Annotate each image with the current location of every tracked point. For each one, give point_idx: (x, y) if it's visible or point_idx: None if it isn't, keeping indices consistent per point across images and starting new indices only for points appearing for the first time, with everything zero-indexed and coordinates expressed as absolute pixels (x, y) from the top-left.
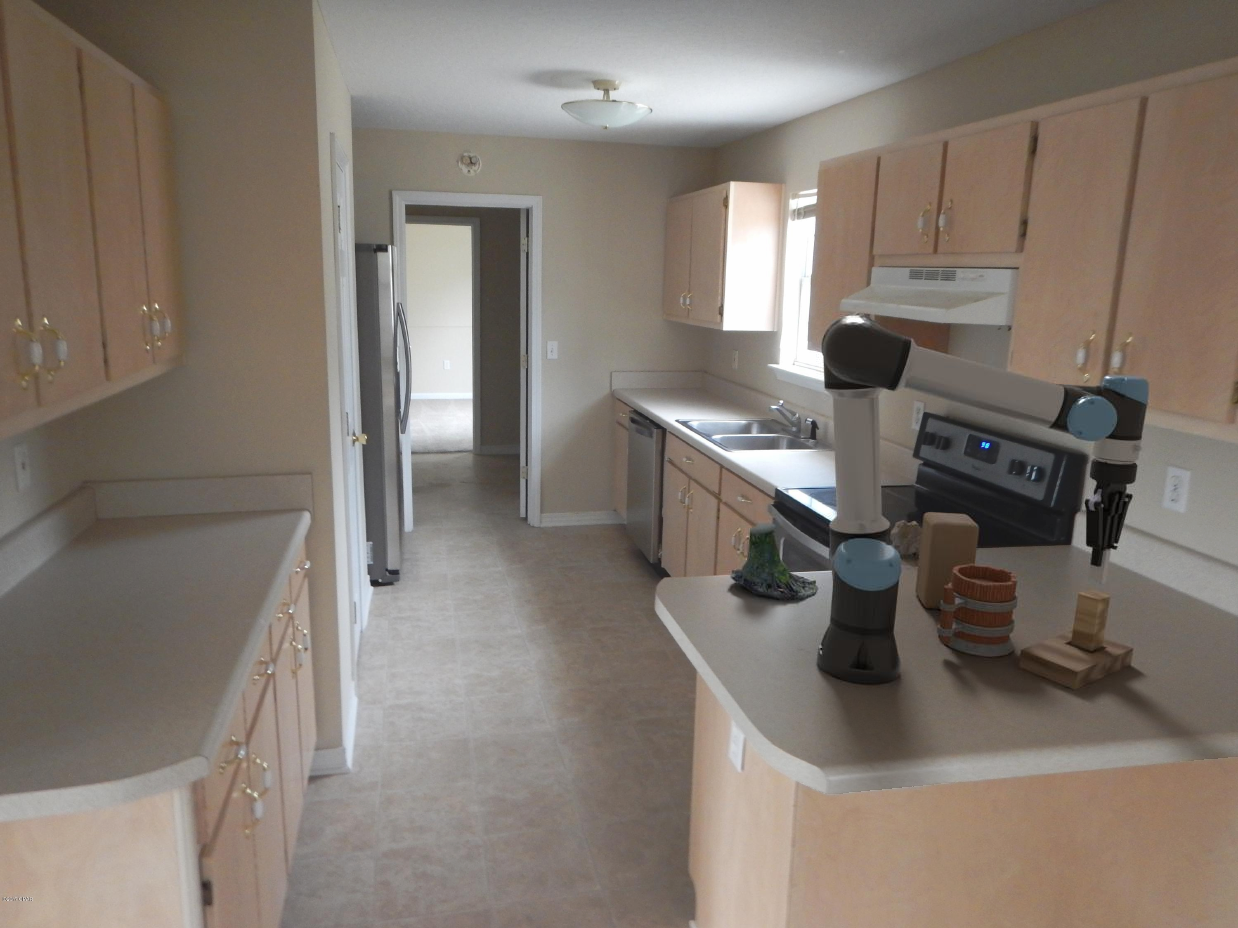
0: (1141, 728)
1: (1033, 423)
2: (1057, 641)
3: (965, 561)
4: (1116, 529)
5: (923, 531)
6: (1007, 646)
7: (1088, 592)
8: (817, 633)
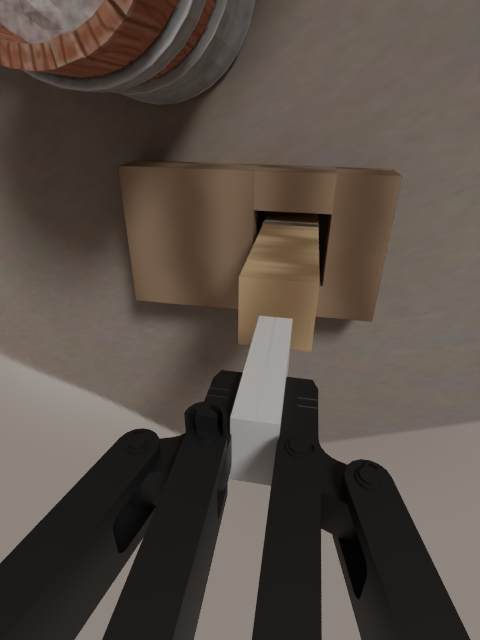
0: (129, 390)
1: None
2: (250, 193)
3: None
4: (358, 614)
5: None
6: (163, 94)
7: (281, 294)
8: None
